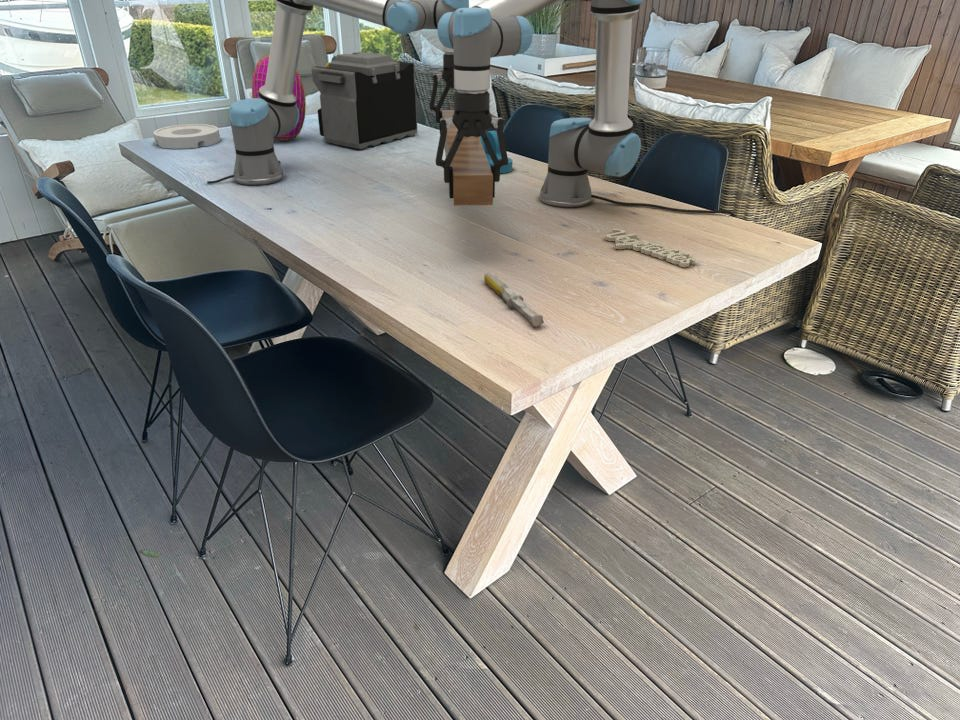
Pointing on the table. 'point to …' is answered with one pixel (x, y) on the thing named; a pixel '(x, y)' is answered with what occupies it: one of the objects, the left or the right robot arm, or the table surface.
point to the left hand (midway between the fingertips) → (456, 134)
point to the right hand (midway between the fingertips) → (471, 196)
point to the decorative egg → (298, 91)
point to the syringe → (513, 299)
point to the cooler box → (366, 99)
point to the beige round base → (186, 136)
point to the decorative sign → (649, 248)
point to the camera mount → (496, 151)
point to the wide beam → (469, 169)
